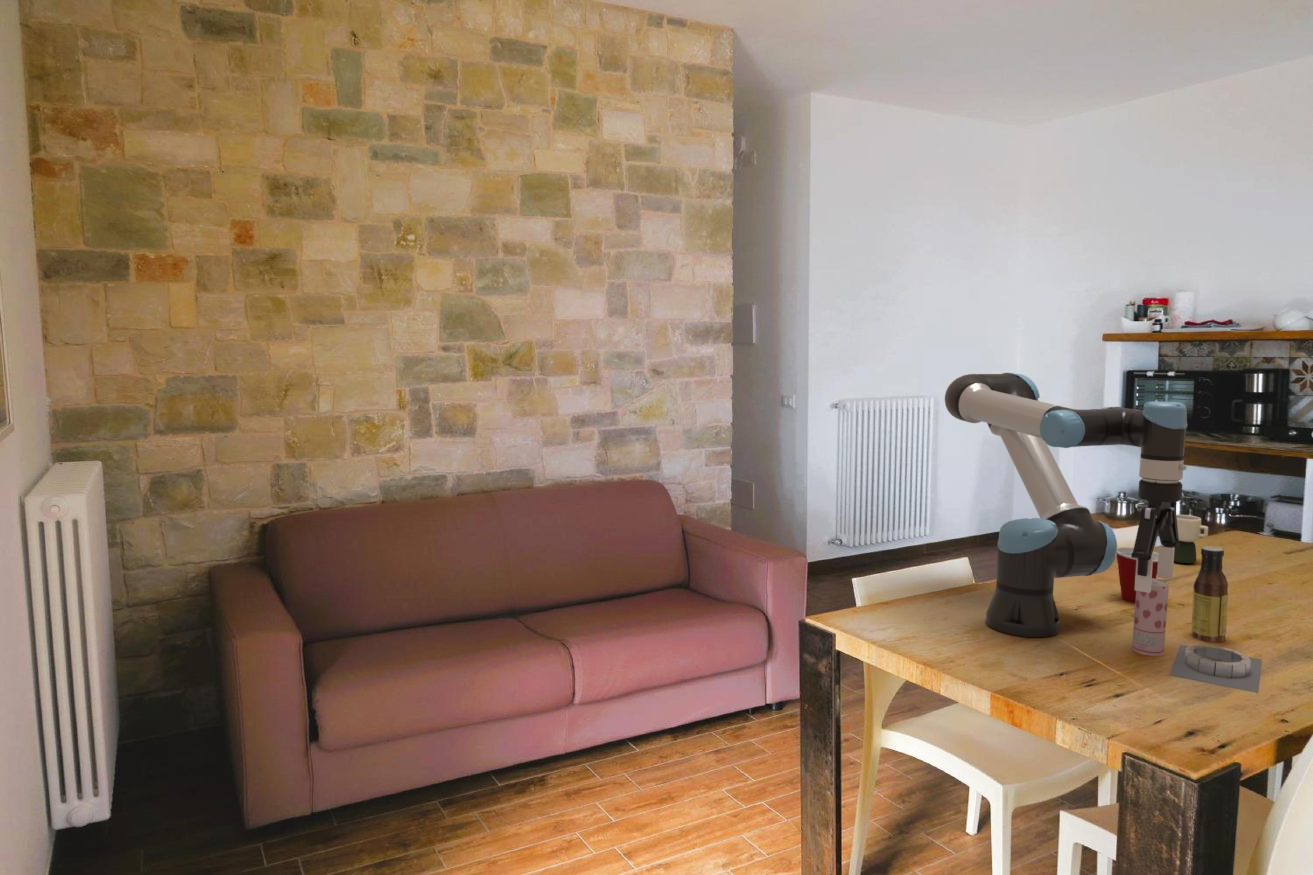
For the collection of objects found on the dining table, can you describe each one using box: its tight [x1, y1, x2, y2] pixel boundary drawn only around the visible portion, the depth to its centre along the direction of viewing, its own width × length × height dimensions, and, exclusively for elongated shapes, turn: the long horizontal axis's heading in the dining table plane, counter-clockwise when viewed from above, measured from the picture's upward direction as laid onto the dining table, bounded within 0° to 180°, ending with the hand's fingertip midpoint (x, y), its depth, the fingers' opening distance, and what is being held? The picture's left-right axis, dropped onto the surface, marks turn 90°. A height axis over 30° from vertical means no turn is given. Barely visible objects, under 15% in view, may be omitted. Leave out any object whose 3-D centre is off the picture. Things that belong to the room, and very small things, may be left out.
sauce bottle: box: [1191, 545, 1229, 643], centre depth 188 cm, size 6×6×20 cm
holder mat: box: [1169, 644, 1263, 694], centre depth 173 cm, size 20×14×1 cm
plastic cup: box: [1115, 546, 1159, 604], centre depth 216 cm, size 11×11×12 cm
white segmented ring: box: [1185, 644, 1251, 678], centre depth 173 cm, size 10×10×2 cm
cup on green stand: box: [1173, 514, 1209, 564], centre depth 250 cm, size 11×7×13 cm, turn 44°
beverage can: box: [1131, 578, 1170, 657], centre depth 181 cm, size 6×6×15 cm
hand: (1153, 584), depth 179 cm, fingers open, 13 cm apart
